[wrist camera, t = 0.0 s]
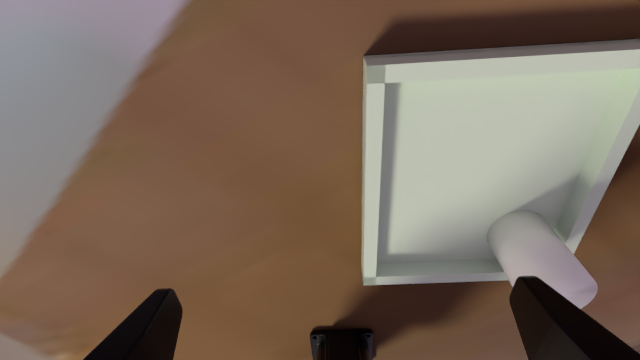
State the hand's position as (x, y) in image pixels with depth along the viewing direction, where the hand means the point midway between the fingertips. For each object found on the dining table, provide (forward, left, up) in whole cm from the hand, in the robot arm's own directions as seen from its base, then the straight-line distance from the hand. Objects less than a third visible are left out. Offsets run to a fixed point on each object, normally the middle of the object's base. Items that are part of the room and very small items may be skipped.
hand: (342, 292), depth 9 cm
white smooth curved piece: (-12, -14, -14) cm, 23 cm away
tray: (-7, -10, -15) cm, 19 cm away
